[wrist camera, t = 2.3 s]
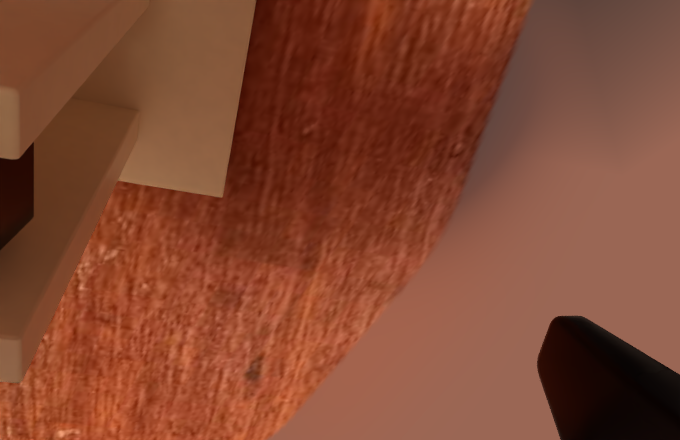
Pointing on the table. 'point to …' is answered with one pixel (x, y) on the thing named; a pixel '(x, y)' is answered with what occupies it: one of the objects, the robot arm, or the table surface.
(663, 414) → the robot arm
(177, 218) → the table surface
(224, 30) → the bracket
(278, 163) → the table surface
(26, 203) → the lever
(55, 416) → the table surface
